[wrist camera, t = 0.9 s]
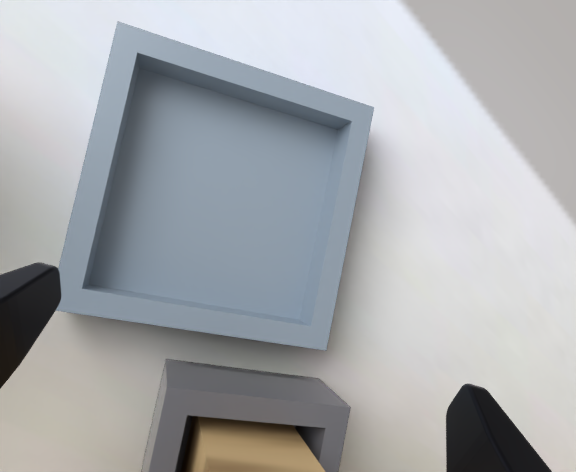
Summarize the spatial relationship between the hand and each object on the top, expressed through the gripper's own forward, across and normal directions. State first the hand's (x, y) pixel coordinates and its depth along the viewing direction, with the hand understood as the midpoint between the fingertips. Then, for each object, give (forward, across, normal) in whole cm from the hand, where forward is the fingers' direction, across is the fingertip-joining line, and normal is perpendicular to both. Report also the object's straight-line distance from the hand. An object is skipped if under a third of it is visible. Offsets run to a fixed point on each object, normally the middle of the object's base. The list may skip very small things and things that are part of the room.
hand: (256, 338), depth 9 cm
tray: (+12, +4, +4) cm, 13 cm away
